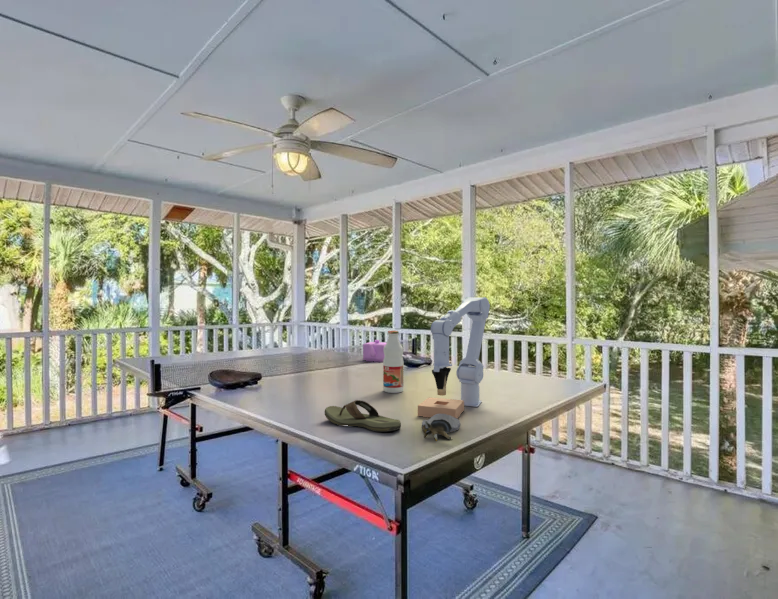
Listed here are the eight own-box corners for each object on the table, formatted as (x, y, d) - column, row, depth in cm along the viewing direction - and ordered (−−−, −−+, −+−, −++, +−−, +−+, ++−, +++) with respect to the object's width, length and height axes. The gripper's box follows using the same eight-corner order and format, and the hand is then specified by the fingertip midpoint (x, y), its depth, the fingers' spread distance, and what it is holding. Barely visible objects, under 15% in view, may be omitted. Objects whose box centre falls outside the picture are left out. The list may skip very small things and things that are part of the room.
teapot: (358, 362, 289) (358, 341, 289) (373, 357, 313) (373, 338, 313) (380, 363, 284) (379, 342, 284) (393, 358, 308) (393, 338, 307)
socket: (428, 407, 174) (428, 397, 174) (464, 410, 169) (464, 400, 169) (417, 416, 161) (417, 405, 161) (455, 420, 156) (455, 409, 156)
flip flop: (319, 422, 154) (319, 399, 154) (341, 415, 164) (341, 392, 164) (388, 438, 138) (387, 411, 138) (407, 428, 148) (407, 403, 147)
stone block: (462, 433, 147) (437, 422, 153) (464, 420, 147) (439, 409, 153) (444, 444, 138) (418, 432, 144) (446, 430, 137) (420, 418, 143)
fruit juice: (407, 391, 203) (407, 331, 203) (392, 394, 197) (392, 332, 196) (393, 388, 210) (393, 329, 210) (379, 390, 204) (379, 330, 203)
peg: (438, 393, 167) (438, 374, 167) (446, 394, 166) (447, 375, 166) (436, 395, 164) (436, 376, 164) (444, 395, 163) (444, 377, 163)
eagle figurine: (424, 440, 131) (453, 435, 131) (420, 417, 135) (448, 412, 135) (425, 446, 138) (454, 441, 137) (421, 424, 142) (449, 419, 141)
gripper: (446, 355, 156) (446, 392, 157) (456, 350, 170) (456, 385, 170) (428, 354, 159) (428, 391, 159) (438, 349, 173) (438, 383, 173)
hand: (441, 388), depth 165 cm, fingers closed on peg, 3 cm apart
